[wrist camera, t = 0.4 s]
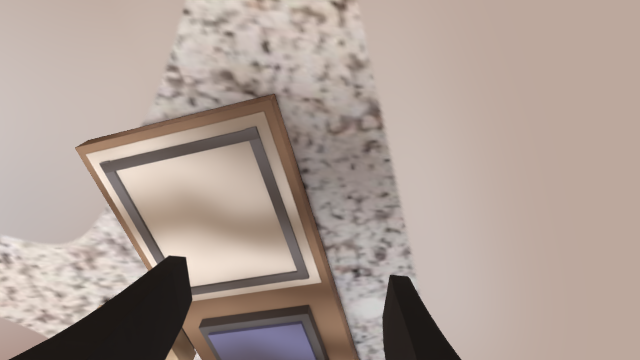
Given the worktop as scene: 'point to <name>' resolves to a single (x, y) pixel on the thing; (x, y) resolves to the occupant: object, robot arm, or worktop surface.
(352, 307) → the worktop surface
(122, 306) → the robot arm
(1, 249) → the worktop surface
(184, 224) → the desk board
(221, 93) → the worktop surface
